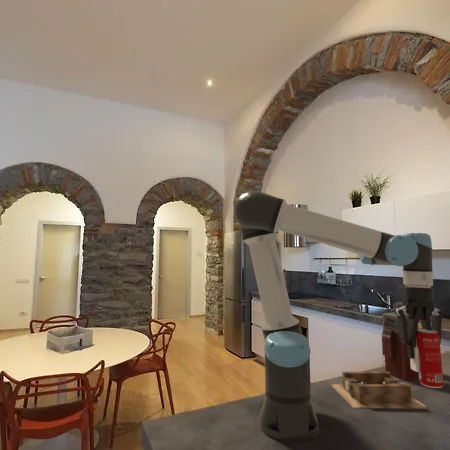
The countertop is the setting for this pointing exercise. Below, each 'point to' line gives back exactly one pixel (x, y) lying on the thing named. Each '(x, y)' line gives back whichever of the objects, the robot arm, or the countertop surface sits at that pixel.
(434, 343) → the beverage can
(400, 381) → the plunger
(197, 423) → the countertop surface
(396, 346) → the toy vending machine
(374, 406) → the holder
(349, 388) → the plunger
